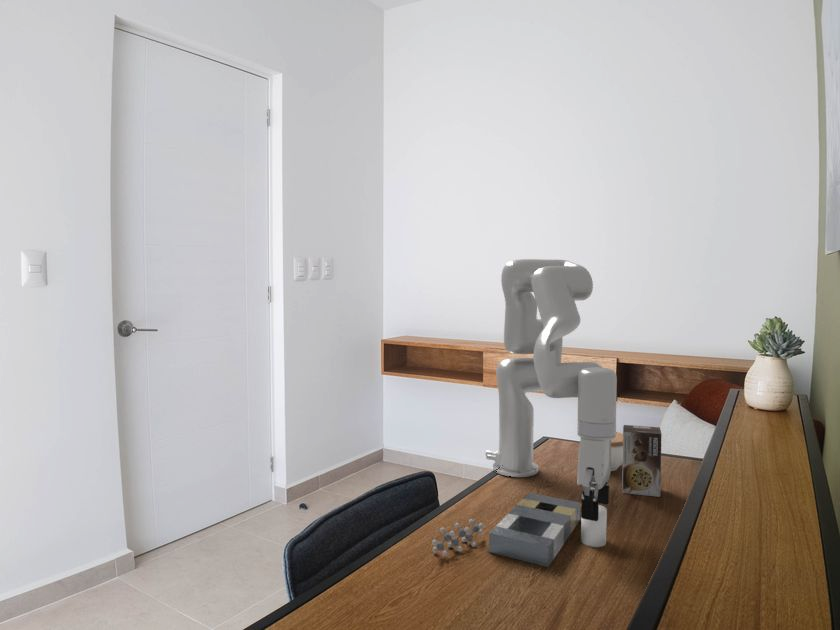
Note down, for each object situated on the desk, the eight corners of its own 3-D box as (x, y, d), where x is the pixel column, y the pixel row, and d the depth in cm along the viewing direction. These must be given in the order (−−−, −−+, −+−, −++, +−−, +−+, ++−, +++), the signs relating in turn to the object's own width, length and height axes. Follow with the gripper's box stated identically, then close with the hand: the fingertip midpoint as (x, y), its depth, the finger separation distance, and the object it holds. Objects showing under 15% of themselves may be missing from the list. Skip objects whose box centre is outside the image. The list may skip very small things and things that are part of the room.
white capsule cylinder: (578, 543, 120) (578, 510, 120) (584, 533, 124) (584, 502, 124) (603, 549, 118) (603, 515, 117) (608, 539, 122) (609, 506, 121)
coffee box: (659, 488, 150) (661, 427, 149) (660, 497, 144) (662, 433, 143) (621, 484, 153) (623, 423, 152) (621, 493, 147) (623, 430, 146)
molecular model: (439, 563, 112) (440, 538, 112) (425, 555, 115) (425, 531, 115) (489, 542, 121) (489, 519, 120) (474, 535, 124) (474, 512, 124)
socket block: (489, 552, 116) (489, 532, 116) (528, 509, 137) (528, 492, 137) (548, 567, 110) (548, 546, 110) (580, 519, 131) (580, 502, 131)
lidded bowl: (584, 473, 161) (585, 434, 160) (578, 459, 174) (579, 422, 173) (632, 475, 159) (633, 436, 159) (622, 460, 172) (623, 424, 171)
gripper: (588, 418, 128) (587, 494, 129) (566, 436, 113) (565, 522, 114) (623, 421, 125) (622, 500, 126) (606, 441, 110) (605, 530, 111)
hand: (595, 511), depth 120 cm, fingers open, 9 cm apart
